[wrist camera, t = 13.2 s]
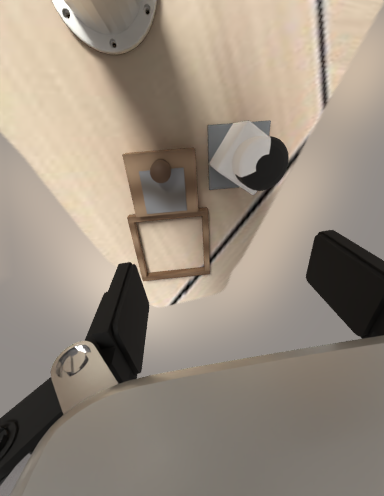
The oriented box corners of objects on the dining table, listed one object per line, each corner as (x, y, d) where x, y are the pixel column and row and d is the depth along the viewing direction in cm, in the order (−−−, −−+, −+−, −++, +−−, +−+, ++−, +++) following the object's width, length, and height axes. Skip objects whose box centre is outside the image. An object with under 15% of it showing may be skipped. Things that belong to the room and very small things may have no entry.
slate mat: (207, 125, 31) (208, 125, 31) (269, 120, 31) (270, 120, 31) (209, 189, 36) (209, 189, 36) (262, 184, 36) (263, 185, 36)
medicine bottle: (266, 148, 33) (309, 154, 23) (240, 185, 36) (267, 206, 25) (233, 122, 31) (264, 115, 20) (208, 164, 33) (224, 177, 23)
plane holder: (113, 154, 32) (102, 157, 27) (205, 146, 33) (211, 149, 27) (143, 276, 45) (140, 295, 40) (208, 270, 45) (213, 287, 40)
